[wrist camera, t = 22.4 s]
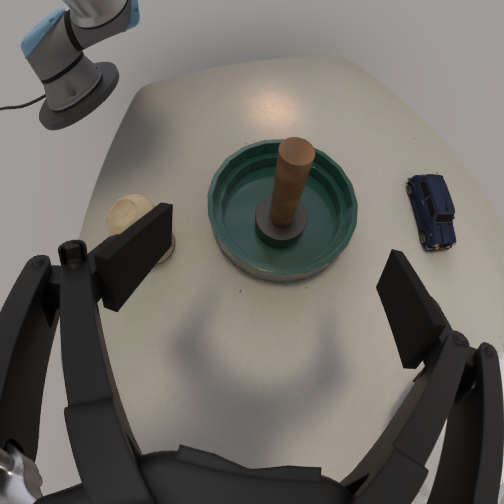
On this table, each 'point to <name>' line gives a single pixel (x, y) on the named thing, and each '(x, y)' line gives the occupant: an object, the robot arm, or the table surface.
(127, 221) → the candle
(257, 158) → the bowl
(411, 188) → the toy car
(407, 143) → the table surface
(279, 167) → the wooden peg on stand
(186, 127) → the table surface
